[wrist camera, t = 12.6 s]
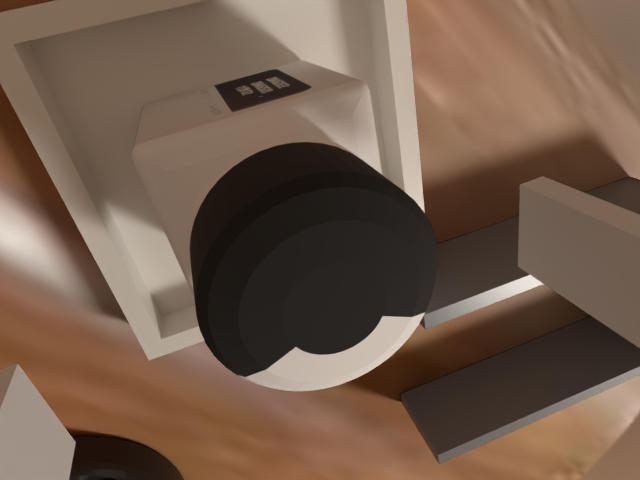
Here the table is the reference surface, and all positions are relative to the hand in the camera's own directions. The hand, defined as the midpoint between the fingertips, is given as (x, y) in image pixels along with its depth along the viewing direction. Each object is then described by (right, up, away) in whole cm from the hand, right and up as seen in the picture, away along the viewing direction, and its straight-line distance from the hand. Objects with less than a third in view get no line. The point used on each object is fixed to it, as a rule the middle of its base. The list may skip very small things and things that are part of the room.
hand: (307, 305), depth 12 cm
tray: (-3, +6, +11) cm, 13 cm away
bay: (+14, -2, +21) cm, 26 cm away
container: (-3, +6, +11) cm, 12 cm away
